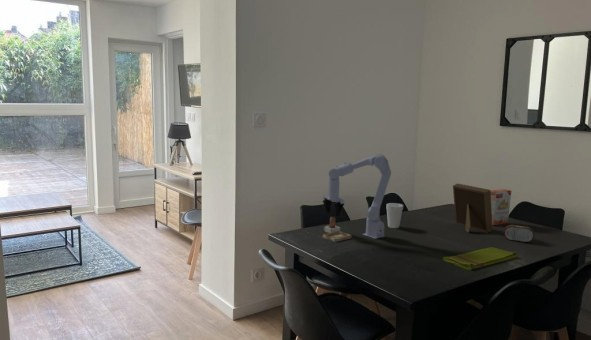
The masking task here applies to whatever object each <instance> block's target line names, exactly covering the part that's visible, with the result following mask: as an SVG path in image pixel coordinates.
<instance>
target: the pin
mask: <svg viewBox="0 0 591 340" xmlns="http://www.w3.org/2000/svg"><path fill="white" fill-rule="evenodd" d="M329 217H330V218H329V226H330V228H332V229H333V228H335V226H336V217H337V216H329Z"/></svg>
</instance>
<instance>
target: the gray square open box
mask: <svg viewBox="0 0 591 340" xmlns="http://www.w3.org/2000/svg"><path fill="white" fill-rule="evenodd" d="M341 230H342V229H341V227H340V226H337V225H335V228H333V229H332V228H330V225H326V226H324V227H323V232H325V233H332V232H336V231H340V232H342V231H341Z"/></svg>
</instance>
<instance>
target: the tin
mask: <svg viewBox="0 0 591 340" xmlns="http://www.w3.org/2000/svg"><path fill="white" fill-rule="evenodd" d="M535 234H536V233H535V231H534V230H533V228H531V227H530V226H523V225H516V224H509V225H506V226H505V227H504V229H503V235H504V237H505V238H506V239H507V240H509V241H511V240H513V242H518V241H520V242H519V243H525V242H528V243H531V242H532V241H533V240H534V239H535Z"/></svg>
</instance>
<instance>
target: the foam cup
mask: <svg viewBox="0 0 591 340" xmlns="http://www.w3.org/2000/svg"><path fill="white" fill-rule="evenodd" d="M385 209H386V215H387V217H386V218H387V227H388V228H391V229H398V228H400V224H401V219H402V214H403V210H404V204H402V203H396V202H389V203H386V208H385Z"/></svg>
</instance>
